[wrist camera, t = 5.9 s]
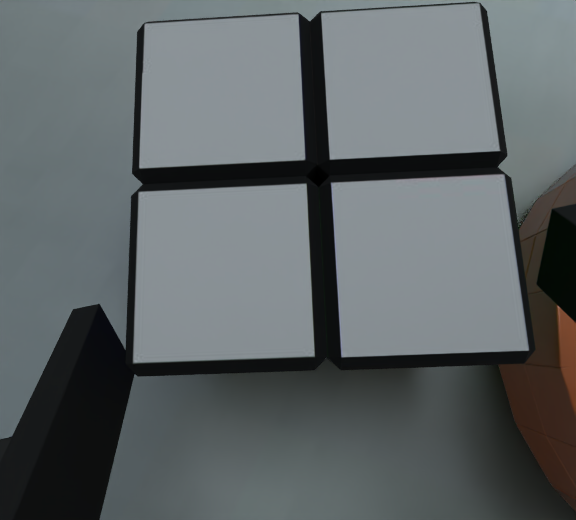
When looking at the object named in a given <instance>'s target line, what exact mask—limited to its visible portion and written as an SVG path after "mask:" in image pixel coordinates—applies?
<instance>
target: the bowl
mask: <svg viewBox="0 0 576 520" xmlns="http://www.w3.org/2000/svg"><path fill="white" fill-rule="evenodd" d="M572 204H576V164H575V165H574V166H573V167H572V168H571V169H570V170H568V171H567V172H566V173H565V174H564V175H563V176H562V177H561V178H560V179H559V180H558V181H557V182H556V183H554V184H553V185H552V186H551V187H550V188H549V189H548V190H547V191H546V192H545V193H544V194H543V195H541V196H540V197H539V198H538V200H537V201H536V202H535V203H534V205H533V207H532V208H531V210H530V212H529V213H528V215H527V217H526V219H525V220H524V222H523V224H522V225H521V227H520V229H519V236H520V243H521V250H522V257H523V264H524V271H525V278H526V285H527V292H528V299H529V306H530V313H531V320H532V327H533V334H534V341H535V348H536V350H535V351H534V352H533V354H532V355H531V356H530V357H529V358H528V360H527V361H526V362H525V363H524V364H502V365H499V369H500V372H501V376H502V379H503V383H504V386H505V389H506V393H507V396H508V400H509V403H510V407H511V410H512V413H513V417H514V420H515V423H516V424H517V427H518V429H519V430H520V432H521V434H522V436H523V437H524V439H525V441H526V442H527V444H528V446H529V448H530V449H531V451H532V453H533V455H534V456H535V458H536V460H537V462H538V463H539V465H540V467H541V469H542V470H543V472H544V474H545V476H546V477H547V479H548V481H549V483H551V485H552V487H553V488H554V489H555V490H556V491H557V492H558V493H559V494H560V495H561V496H562V497H563V498H564V499H565V501H566V502H567V503H568V504H569V505H570V506H571V507H572V508H573V509H574V510H575V511H576V323H575V322H574V321H573V320H572V319H571V318H570V317H569V316H568V315H567V314H566V313H565V312H564V311H563V310H562V309H561V308H560V307H559V306H558V305H557V304H556V303H555V302H554V301H553V300H552V299H551V298H550V297H549V296H548V295H546V294H545V293H544V292H543V291H542V290H541V289H540V288H539V287H538V286H537V285H536V282H537V277H538V273H539V268H540V263H541V258H542V253H543V249H544V244H545V239H546V234H547V229H548V224H549V220H550V215H551V210H552V209H553V208H558V207H562V206H567V205H572Z"/></svg>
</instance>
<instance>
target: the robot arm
mask: <svg viewBox="0 0 576 520" xmlns="http://www.w3.org/2000/svg"><path fill="white" fill-rule="evenodd" d="M536 285H537V286H538V287H539V288H540V289H541V290H542V291H543V292H544V293H545V294H546V295H548V296H549V297H550V298H551V299H552V300H553V301H554V302H555V303H556V304H557V305H558V306H559V307H560V308H561V309H562V310H563V311H564V312H565V313H566V314H567V315H568V316H569V317H570V318H571V319H572V320H573V321H574V322H575V323H576V204H572V205H567V206H562V207H558V208H553V209H552V210H551V215H550V220H549V224H548V229H547V234H546V239H545V244H544V249H543V253H542V258H541V263H540V268H539V273H538V277H537V282H536ZM125 358H126V350H125V349H124V347H123V345H122V343H121V341H120V340H119V338H118V336H117V334H116V332H115V331H114V329H113V327H112V325H111V324H110V322H109V320H108V318H107V316H106V315H105V313H104V311H103V309H102V307H101V306H100V304H96V305H92V306H87V307H82V308H77V309H73V311H72V313H71V315H70V317H69V319H68V321H67V323H66V325H65V327H64V329H63V331H62V334H61V336H60V338H59V340H58V342H57V344H56V346H55V348H54V350H53V352H52V354H51V357H50V359H49V361H48V363H47V365H46V367H45V369H44V371H43V373H42V375H41V377H40V380H39V382H38V384H37V386H36V388H35V390H34V392H33V394H32V396H31V398H30V400H29V403H28V405H27V407H26V409H25V411H24V413H23V415H22V417H21V419H20V421H19V423H18V426H17V428H16V430H15V432H14V434H13V436H12V437H10V438H5V439H0V520H99V519H100V515H101V511H102V506H103V502H104V498H105V494H106V490H107V486H108V482H109V477H110V473H111V469H112V465H113V461H114V457H115V453H116V448H117V444H118V440H119V436H120V432H121V428H122V424H123V419H124V415H125V411H126V407H127V403H128V399H129V395H130V390H131V386H132V382H133V378H134V374H135V373H134V372H133V371H132V370H131V369H130V368H129V367H128V366H127V365H126V364H125Z"/></svg>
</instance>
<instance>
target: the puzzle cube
mask: <svg viewBox="0 0 576 520" xmlns="http://www.w3.org/2000/svg"><path fill="white" fill-rule="evenodd" d="M506 157H507V149H506V142H505V135H504V128H503V121H502V114H501V107H500V100H499V93H498V86H497V79H496V72H495V65H494V58H493V51H492V44H491V37H490V30H489V23H488V16H487V11H486V9H485V8H484V7H483V6H482V5H481V3H477V2H466V3H450V4H434V5H418V6H402V7H385V8H369V9H353V10H337V11H321V12H319V13H318V14H317V15H316V16H315V17H314V18H313V19H312V20H311V21H308V20H307V19H306V18H305V17H303V16H302V15H301V14H299V13H298V12H297V13H281V14H265V15H249V16H233V17H217V18H200V19H184V20H168V21H152V22H146V23H144V24H143V25H142V26H141V28H140V29H139V30H138V32H137V54H136V82H135V109H134V137H133V165H132V174H133V175H134V176H135V177H136V178H137V179H138V180H139V181H140V182H141V183H142V184H143V185H142V186H141V187H140V188H139V189H138V190H137V191H136V192H135V193H134V194H133V195H132V196H131V220H130V247H129V275H128V303H127V330H126V358H125V364H126V365H127V366H128V367H129V368H130V369H131V370H132V371H133V372H134V373H135V374H136V375H137V376H165V375H194V374H222V373H251V372H280V371H308V370H316V369H317V367H318V366H319V365H320V364H321V363H322V362H323V361H324V360H325V358H326V357H327V358H328V359H329V360H330V361H331V362H333V363H334V364H335V365H336V366H337V367H338V368H339V369H341V370H358V369H387V368H416V367H444V366H473V365H502V364H524V363H525V362H526V361H527V360H528V358H529V357H530V356H531V355H532V354H533V352H534V351H535V350H536V348H535V341H534V334H533V327H532V320H531V313H530V306H529V299H528V292H527V285H526V278H525V271H524V264H523V257H522V250H521V243H520V236H519V229H518V222H517V215H516V208H515V201H514V194H513V187H512V180H511V178H510V177H509V176H508V175H507V174H505V173H504V172H503V171H501V170H500V169H499V168H498V166H499V165H500V163H501V162H502V161H503V160H504V159H505V158H506Z"/></svg>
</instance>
